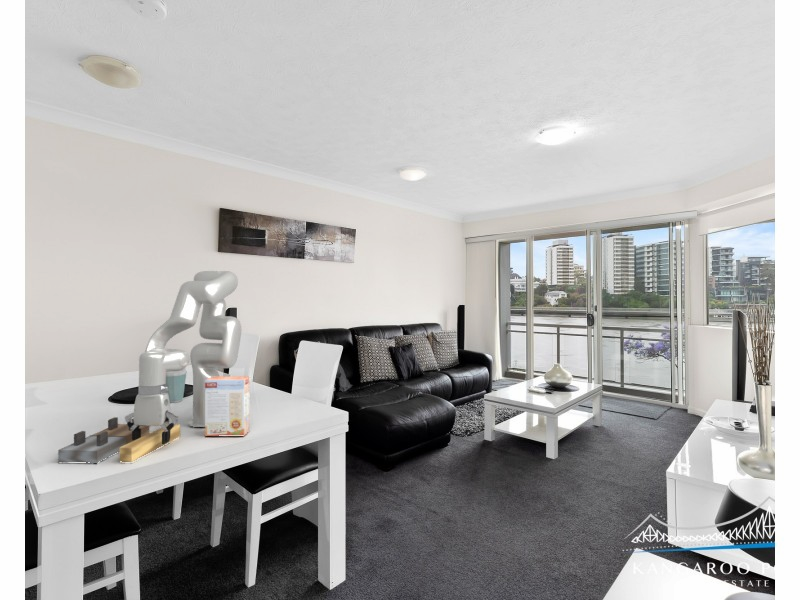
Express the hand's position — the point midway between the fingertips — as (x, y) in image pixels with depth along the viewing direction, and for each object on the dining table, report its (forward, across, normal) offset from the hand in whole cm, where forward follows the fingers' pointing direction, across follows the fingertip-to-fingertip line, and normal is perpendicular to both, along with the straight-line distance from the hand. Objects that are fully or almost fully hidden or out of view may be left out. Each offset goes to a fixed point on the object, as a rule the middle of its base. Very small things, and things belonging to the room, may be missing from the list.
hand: (151, 442), depth 132 cm
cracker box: (+2, -18, -16) cm, 24 cm away
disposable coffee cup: (+1, +27, -58) cm, 64 cm away
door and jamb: (+2, +15, -1) cm, 15 cm away
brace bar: (+3, 0, -1) cm, 3 cm away
